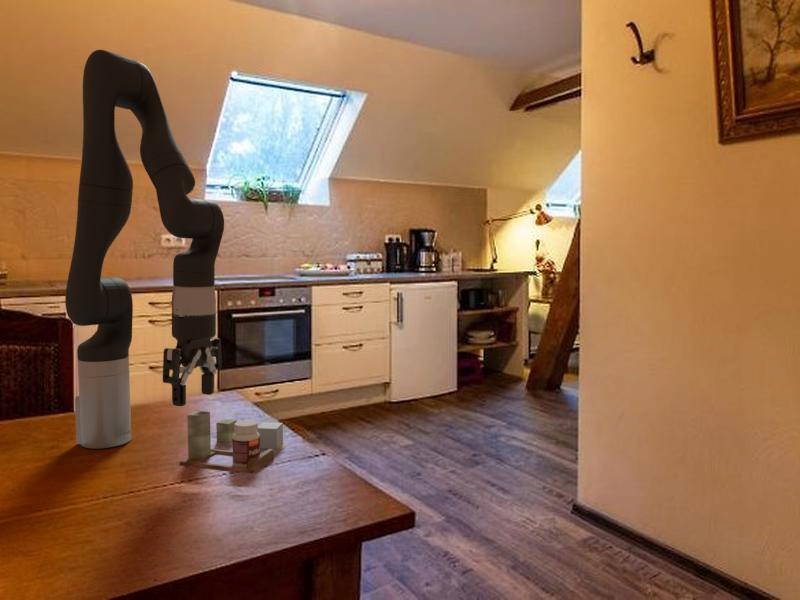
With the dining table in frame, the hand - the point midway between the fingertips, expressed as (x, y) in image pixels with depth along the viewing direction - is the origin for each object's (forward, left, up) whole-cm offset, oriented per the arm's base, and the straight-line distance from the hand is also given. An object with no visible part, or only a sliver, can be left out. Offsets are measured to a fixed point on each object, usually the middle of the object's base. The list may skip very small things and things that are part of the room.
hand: (193, 399), depth 110 cm
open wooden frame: (+7, 0, -12) cm, 14 cm away
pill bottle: (+11, 0, -12) cm, 16 cm away
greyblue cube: (+10, +10, -11) cm, 18 cm away
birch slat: (+6, +10, -12) cm, 16 cm away
